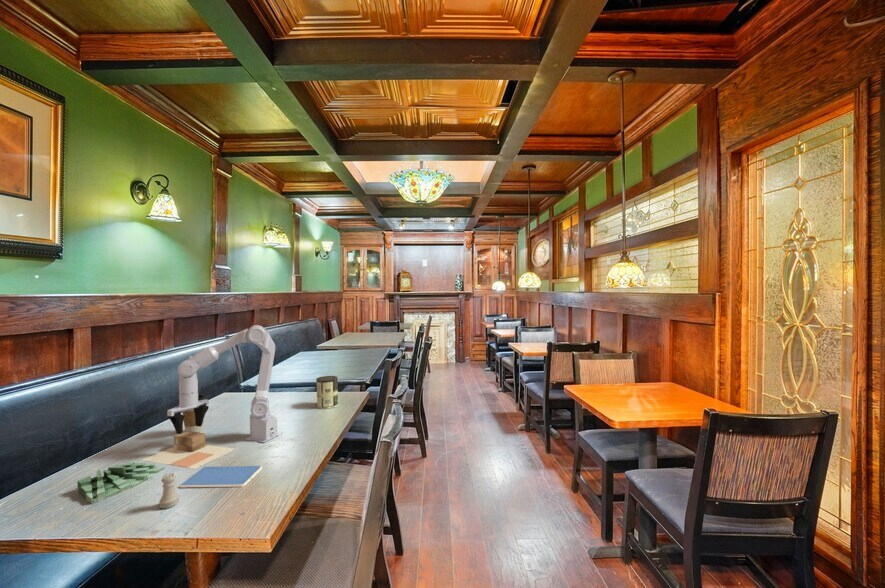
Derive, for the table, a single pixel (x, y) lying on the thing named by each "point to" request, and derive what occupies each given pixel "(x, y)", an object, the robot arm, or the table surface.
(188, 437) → the two tone block
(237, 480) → the tablet computer
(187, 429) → the coffee cup
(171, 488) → the rook chess piece
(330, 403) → the coffee can
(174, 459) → the mat
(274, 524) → the table surface
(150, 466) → the money
